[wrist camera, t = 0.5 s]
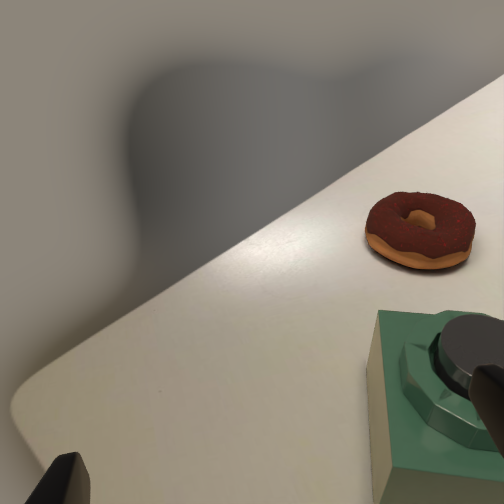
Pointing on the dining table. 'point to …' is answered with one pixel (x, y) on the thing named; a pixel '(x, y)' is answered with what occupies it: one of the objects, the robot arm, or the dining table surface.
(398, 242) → the donut
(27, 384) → the dining table surface
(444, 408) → the button base
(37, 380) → the dining table surface
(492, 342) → the dark round knob
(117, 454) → the dining table surface
